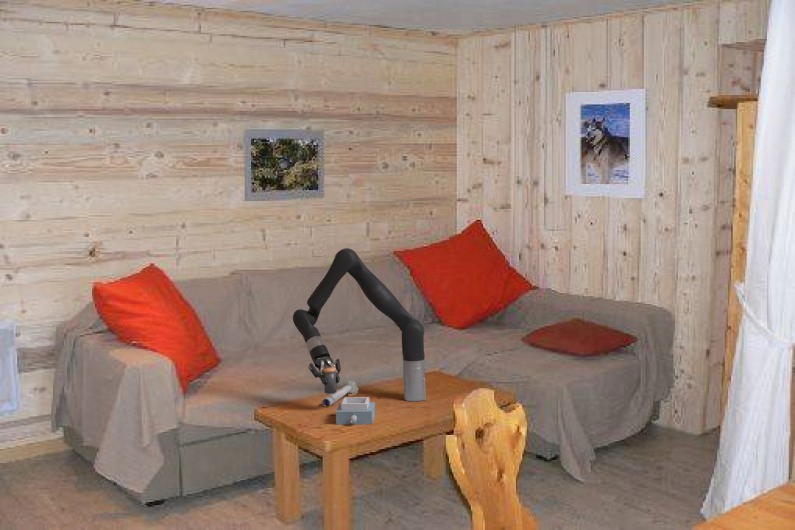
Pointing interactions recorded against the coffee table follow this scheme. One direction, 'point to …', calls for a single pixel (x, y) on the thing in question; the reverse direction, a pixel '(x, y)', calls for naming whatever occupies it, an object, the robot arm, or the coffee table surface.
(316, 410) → the coffee table surface
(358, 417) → the blue knob tray
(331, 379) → the dark grey lidded jar
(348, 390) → the grey flanged rod
